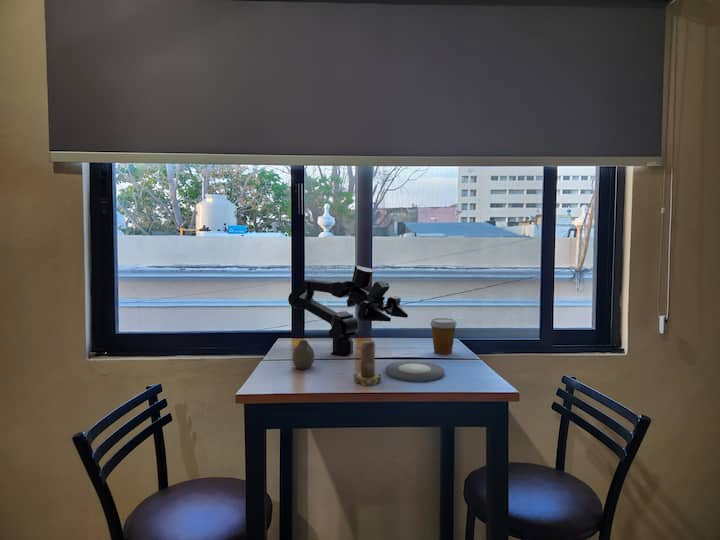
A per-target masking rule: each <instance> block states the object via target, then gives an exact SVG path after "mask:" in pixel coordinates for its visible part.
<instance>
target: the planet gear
mask: <svg viewBox="0 0 720 540" xmlns="http://www.w3.org/2000/svg"><path fill="white" fill-rule="evenodd" d="M375 348H376V342H375V341H372V340H363V341H361V342H360V373H355V374H353V375H354V377H353V380H354V383H355V384H360V385H361V386H366V385H368V386H369V385H370V384H371V385H372V386H376V384H382V376H381V373H375V369H376V368H375V367H376V365H375V364H376V363H375V360H376V359H375V357H376V355H375V354H376V353H375V352H376V349H375Z"/></svg>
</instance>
